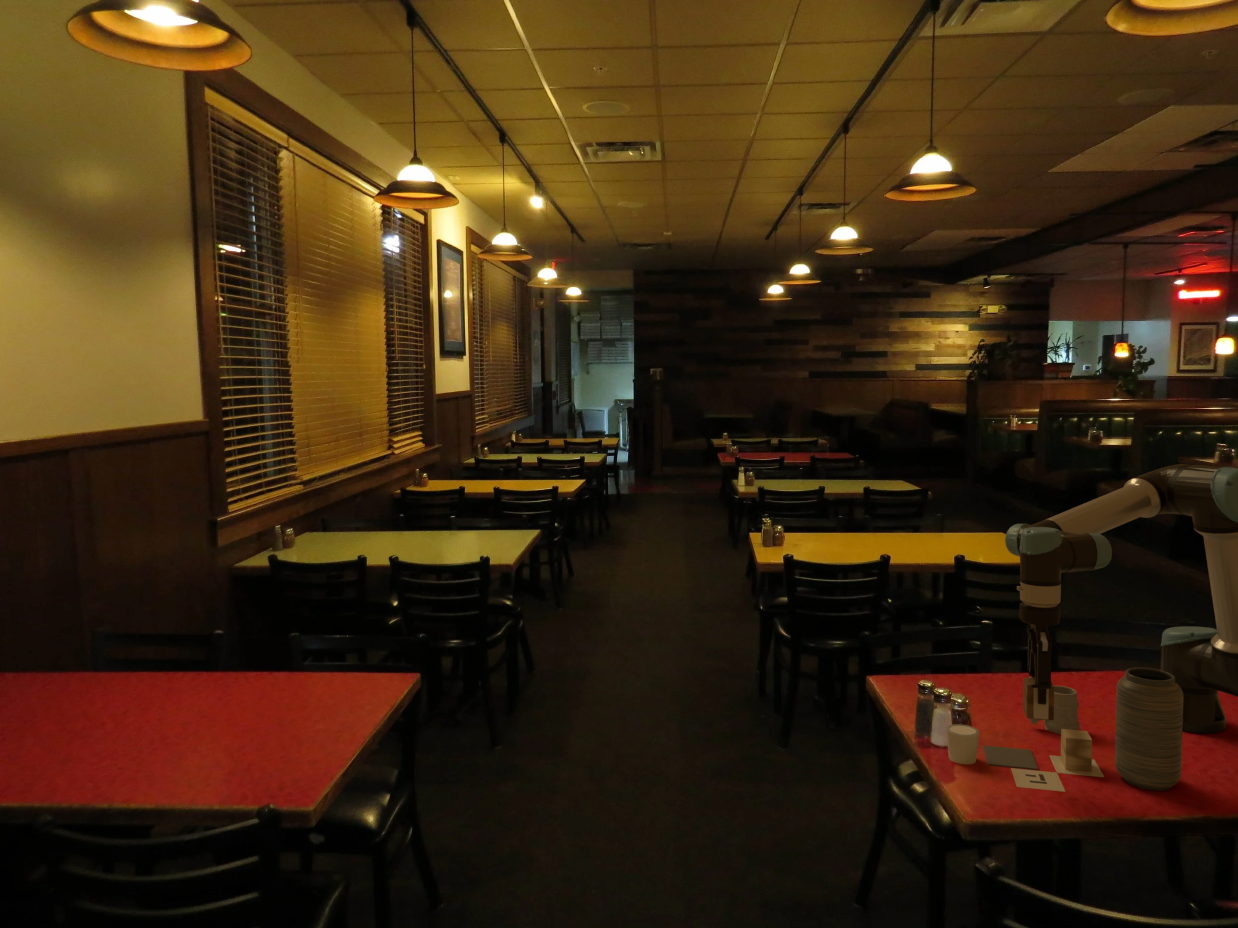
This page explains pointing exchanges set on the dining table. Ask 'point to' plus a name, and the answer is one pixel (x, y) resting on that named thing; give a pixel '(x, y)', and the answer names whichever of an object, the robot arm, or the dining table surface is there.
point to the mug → (1063, 711)
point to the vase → (1149, 729)
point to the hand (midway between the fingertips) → (1038, 712)
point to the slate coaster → (1010, 757)
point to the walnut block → (1028, 699)
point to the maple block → (1076, 750)
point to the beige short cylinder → (962, 743)
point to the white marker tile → (1037, 779)
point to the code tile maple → (1060, 769)
